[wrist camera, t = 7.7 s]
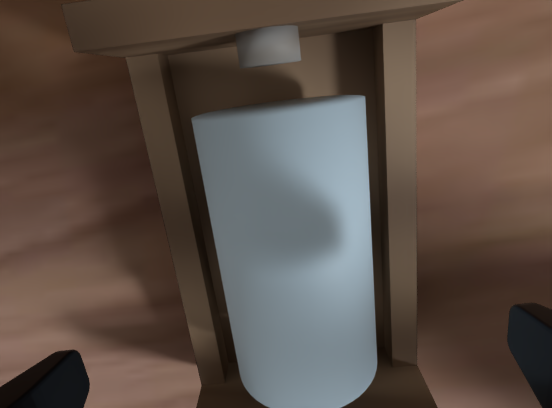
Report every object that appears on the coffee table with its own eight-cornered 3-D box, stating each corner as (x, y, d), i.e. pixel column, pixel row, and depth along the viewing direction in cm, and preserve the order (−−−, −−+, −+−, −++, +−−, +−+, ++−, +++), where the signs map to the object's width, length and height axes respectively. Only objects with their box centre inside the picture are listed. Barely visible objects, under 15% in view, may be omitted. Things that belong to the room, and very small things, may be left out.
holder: (402, 351, 18) (450, 456, 13) (213, 369, 18) (189, 478, 13) (395, -5, 13) (467, -53, 8) (140, 30, 13) (61, 4, 9)
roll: (361, 310, 16) (395, 406, 12) (244, 322, 16) (231, 421, 12) (348, 92, 13) (387, 101, 9) (207, 109, 14) (170, 128, 9)
